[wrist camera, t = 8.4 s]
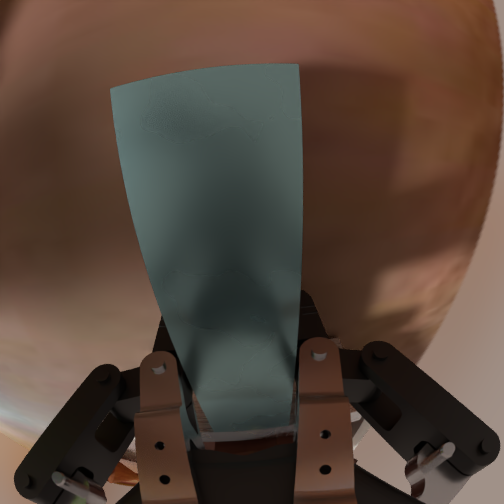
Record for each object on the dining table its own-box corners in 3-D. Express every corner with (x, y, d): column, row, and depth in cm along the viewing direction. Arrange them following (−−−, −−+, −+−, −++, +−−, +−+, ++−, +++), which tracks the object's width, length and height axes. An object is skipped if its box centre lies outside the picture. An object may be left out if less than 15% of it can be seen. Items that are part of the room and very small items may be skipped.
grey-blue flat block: (77, 120, 8) (-12, 145, 4) (362, 90, 8) (452, 91, 4) (158, 368, 15) (148, 439, 11) (334, 351, 15) (359, 419, 11)
